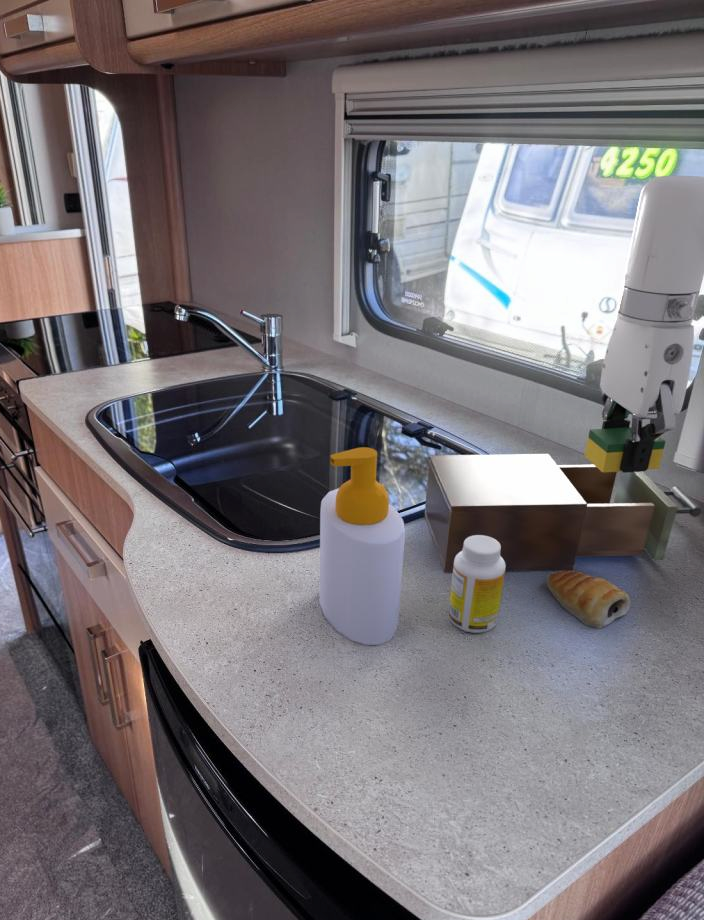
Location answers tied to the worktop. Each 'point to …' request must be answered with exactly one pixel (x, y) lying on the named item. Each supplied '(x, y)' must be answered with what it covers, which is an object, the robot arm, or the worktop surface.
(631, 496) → the drawer
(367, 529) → the soap bottle
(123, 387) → the worktop surface
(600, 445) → the sponge
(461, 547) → the cabinet
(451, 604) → the supplement bottle
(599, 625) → the pastry
